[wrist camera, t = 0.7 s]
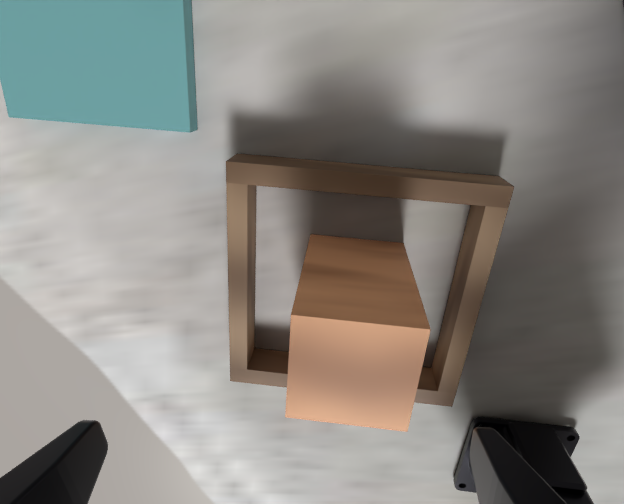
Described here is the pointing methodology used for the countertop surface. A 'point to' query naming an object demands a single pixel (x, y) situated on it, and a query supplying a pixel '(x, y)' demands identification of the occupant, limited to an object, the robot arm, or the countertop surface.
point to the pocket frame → (372, 182)
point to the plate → (99, 62)
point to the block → (356, 335)
